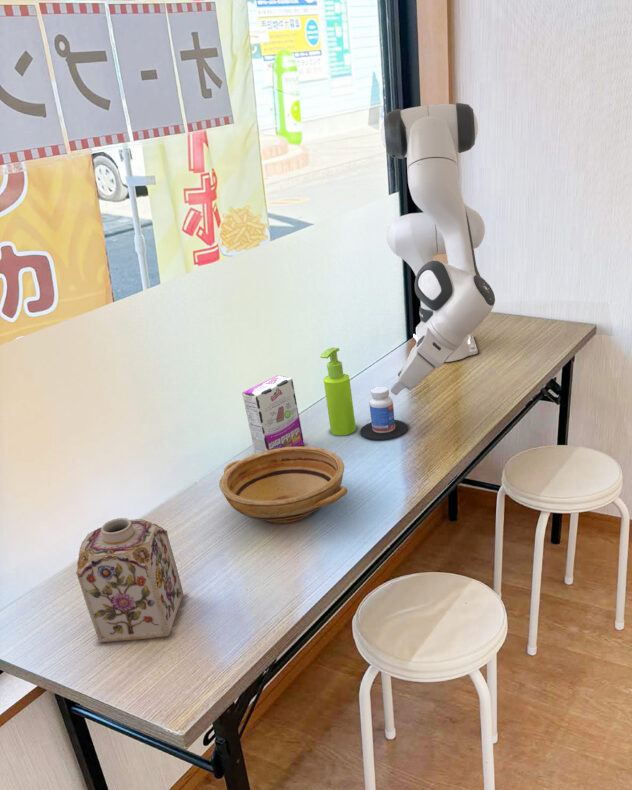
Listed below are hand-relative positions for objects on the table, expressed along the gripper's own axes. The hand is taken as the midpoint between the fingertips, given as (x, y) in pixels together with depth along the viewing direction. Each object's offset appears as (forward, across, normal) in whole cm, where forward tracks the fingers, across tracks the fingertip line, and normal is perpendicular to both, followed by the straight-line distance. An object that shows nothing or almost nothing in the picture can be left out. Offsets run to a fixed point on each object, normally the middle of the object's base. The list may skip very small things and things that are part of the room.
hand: (397, 384), depth 192 cm
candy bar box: (+27, +11, -10) cm, 31 cm away
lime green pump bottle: (+18, 0, -2) cm, 18 cm away
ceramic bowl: (+20, +37, -4) cm, 42 cm away
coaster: (+11, 0, +5) cm, 12 cm away
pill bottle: (+11, 0, +5) cm, 12 cm away
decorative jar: (+30, +73, -14) cm, 80 cm away
